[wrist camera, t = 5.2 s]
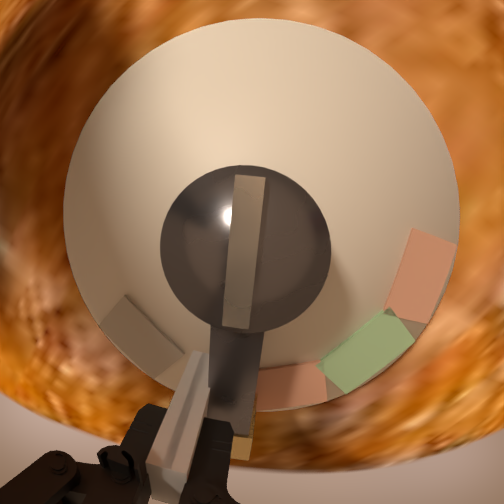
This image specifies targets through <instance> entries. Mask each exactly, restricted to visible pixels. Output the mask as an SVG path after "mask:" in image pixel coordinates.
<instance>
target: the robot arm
mask: <svg viewBox="0 0 504 504" xmlns="http://www.w3.org/2000/svg"><path fill="white" fill-rule="evenodd" d="M208 372H209V354H208V353H203V352H199V351H194V350H193V352H192V354H191V356H190V359H189V361H188V363H187V366H186V368H185V370H184V373H183V375H182V377H181V379H180V382H179V384H178V386H177V389H176V391H175V393H174V396H173V398H172V400H171V403H170V405H169V407H168V409H166V408H162V407H159V406H155V405H152V404H147V405H145V406H144V407H143V408H141V409H140V410H139V411H138V413H137V415H136V416H135V418H134V421H133V422H132V424H131V426H130V429H129V430H128V431H127V433H126V435H125V437H124V439H123V441H122V443H121V445H120V446H117V445H113V446H107V447H105V448H102V449H101V450H100V451H99V452H98V453H97V456H98V459H99V462H100V464H88V463H82V462H76V461H75V460H74V459H73V458H72V457H71V456H70V455H69V454H67V453H65V452H62V451H57V450H56V451H50V452H48V453H46V454H44V455H43V456H42V457H40V458H39V459H38V460H36V461H35V462H34V463H32V464H31V465H30V466H29V467H27V468H26V469H25V470H23V471H22V472H21V473H20V474H18V475H17V476H16V477H14V478H13V479H12V480H10V481H9V482H8V483H7V484H5V485H4V486H3V487H1V488H0V504H148V501H149V498H150V495H151V497H152V499H155V500H159V501H162V502H165V503H169V504H240V503H238V502H236V501H235V500H234V499H233V498H232V497H231V496H230V495H229V493H228V491H227V478H228V471H229V464H230V457H231V450H232V443H233V436H234V431H233V429H232V426H231V423H230V422H227V421H221V420H216V419H211V418H207V409H208V402H209V394H210V388H209V387H208Z"/></svg>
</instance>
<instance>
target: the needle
mask: <svg viewBox="0 0 504 504" xmlns="http://www.w3.org/2000/svg"><path fill="white" fill-rule="evenodd" d="M160 257H161V263H162V268H163V271H164V275H165V277H166V280H167V282H168V284H169V286H170V288H171V290H172V291H173V293H174V295H175V296H176V297H177V299H178V300H179V301H180V302H181V304H182V305H183V306H184V307H185V308H186V309H187V310H188V311H190V312H191V313H192V314H193V315H195V316H196V317H197V318H199V319H200V320H202V321H204V322H205V323H207V324H210V325H211V328H210V348H209V372H208V387H209V388H210V394H209V402H208V409H207V418H211V419H216V420H221V421H227V422H230V423H231V426H232V429H233V431H234V436H233V443H232V450H231V457H230V458H232V459H239V460H247V461H249V457H250V451H251V446H252V441H253V433H254V424H255V414H256V405H257V395H258V394H255V392H256V386H257V379H258V372H259V366H260V359H261V352H262V345H263V338H264V331H269V330H272V329H276V328H278V327H281V326H283V325H285V324H287V323H289V322H291V321H292V320H294V319H296V318H297V317H298V316H300V315H301V314H302V313H303V312H305V311H306V310H307V308H308V307H309V306H310V305H311V304H312V303H313V302H314V300H315V299H316V298H317V296H318V295H319V293H320V291H321V290H322V288H323V286H324V284H325V281H326V279H327V276H328V272H329V268H330V262H331V240H330V234H329V230H328V226H327V223H326V220H325V218H324V216H323V214H322V212H321V210H320V208H319V207H318V205H317V204H316V202H315V201H314V199H313V198H312V197H311V196H310V195H309V193H308V192H307V191H306V190H305V189H304V188H302V187H301V186H300V185H299V184H298V183H297V182H295V181H293V180H292V179H290V178H289V177H287V176H285V175H283V174H281V173H279V172H277V171H274V170H271V169H268V168H265V167H259V166H253V165H235V166H227V167H223V168H219V169H216V170H214V171H211V172H209V173H206V174H204V175H203V176H201V177H199V178H197V179H196V180H195V181H193V182H192V183H191V184H189V185H188V186H187V187H186V188H185V189H184V190H183V191H182V192H181V193H180V194H179V195H178V197H177V198H176V199H175V201H174V202H173V203H172V205H171V207H170V209H169V211H168V213H167V215H166V218H165V220H164V223H163V227H162V231H161V238H160Z"/></svg>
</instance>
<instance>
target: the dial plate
mask: <svg viewBox="0 0 504 504" xmlns="http://www.w3.org/2000/svg"><path fill="white" fill-rule="evenodd" d="M235 165H253V166H259V167H265V168H268V169H271V170H274V171H277V172H279V173H281V174H283V175H285V176H287V177H289V178H290V179H292V180H293V181H295V182H297V183H298V184H299V185H300V186H301V187H302V188H304V189H305V190H306V191H307V192H308V193H309V195H310V196H311V197H312V198H313V199H314V201H315V202H316V204H317V205H318V207H319V208H320V210H321V212H322V214H323V216H324V218H325V220H326V223H327V226H328V230H329V234H330V240H331V262H330V268H329V272H328V276H327V279H326V281H325V284H324V286H323V288H322V290H321V291H320V293H319V295H318V296H317V298H316V299H315V300H314V302H313V303H312V304H311V305H310V306H309V307H308V308H307V310H306V311H305V312H303V313H302V314H301V315H300V316H298V317H297V318H296V319H294V320H292V321H291V322H289V323H287V324H285V325H283V326H281V327H278V328H276V329H272V330H269V331H264V338H263V345H262V352H261V359H260V366H259V372H258V379H257V386H256V392H255V394H258V395H257V405H256V411H260V412H273V411H283V410H292V409H299V408H303V407H308V406H312V405H316V404H320V403H323V402H326V401H328V400H331V399H334V398H337V397H339V396H342V395H344V394H348V393H349V392H350V391H352V390H354V389H356V388H358V387H360V386H362V385H364V384H365V383H367V382H368V381H370V380H371V379H373V378H374V377H376V376H377V375H379V374H380V373H382V372H383V371H384V370H385V369H387V368H388V367H389V366H390V365H391V364H392V363H394V362H395V361H396V360H397V359H398V358H399V357H400V356H402V355H403V353H404V352H405V351H406V350H407V349H408V348H409V347H410V346H411V345H412V344H413V343H414V342H415V340H416V339H417V338H418V337H419V335H420V334H421V332H422V331H423V329H424V328H425V327H426V325H427V324H428V322H429V321H430V319H431V318H432V316H433V314H434V312H435V311H436V309H437V307H438V305H439V303H440V301H441V299H442V297H443V295H444V293H445V290H446V287H447V284H448V281H449V279H450V276H451V273H452V270H453V266H454V261H455V257H456V252H457V246H458V239H459V225H460V207H459V194H458V186H457V181H456V176H455V172H454V167H453V163H452V160H451V157H450V154H449V151H448V149H447V146H446V143H445V141H444V138H443V136H442V134H441V132H440V130H439V128H438V126H437V124H436V122H435V120H434V119H433V117H432V115H431V113H430V111H429V110H428V108H427V107H426V106H425V104H424V103H423V102H422V100H421V99H420V98H419V96H418V95H417V94H416V92H415V91H414V90H413V88H412V87H411V86H410V85H409V84H408V83H407V82H406V81H405V80H404V79H403V78H402V77H401V76H400V75H399V74H398V73H397V72H396V71H395V70H394V69H393V68H392V67H391V66H389V65H388V64H387V63H385V62H384V61H383V60H382V59H380V58H379V57H378V56H376V55H375V54H373V53H372V52H371V51H369V50H368V49H366V48H364V47H362V46H361V45H359V44H357V43H355V42H353V41H351V40H350V39H348V38H346V37H344V36H341V35H339V34H336V33H334V32H331V31H328V30H326V29H323V28H320V27H317V26H313V25H309V24H304V23H300V22H295V21H290V20H281V19H265V18H254V19H241V20H230V21H225V22H221V23H216V24H212V25H208V26H204V27H200V28H198V29H195V30H192V31H190V32H187V33H184V34H182V35H179V36H177V37H175V38H173V39H171V40H169V41H167V42H166V43H164V44H162V45H160V46H158V47H157V48H155V49H153V50H152V51H150V52H149V53H147V54H146V55H145V56H143V57H142V58H141V59H139V60H138V61H137V62H136V63H134V64H133V65H132V66H130V67H129V68H128V69H127V70H126V71H125V72H124V73H123V74H122V75H121V76H120V77H119V78H118V79H117V80H116V81H115V82H114V83H113V84H112V85H111V87H110V88H109V89H108V90H107V92H106V93H105V94H104V96H103V97H102V98H101V99H100V101H99V102H98V104H97V105H96V106H95V108H94V110H93V111H92V113H91V115H90V116H89V118H88V120H87V122H86V124H85V125H84V127H83V129H82V131H81V134H80V136H79V139H78V141H77V144H76V146H75V149H74V151H73V154H72V158H71V162H70V166H69V169H68V174H67V178H66V185H65V193H64V202H63V220H64V234H65V242H66V249H67V254H68V258H69V262H70V266H71V269H72V273H73V276H74V279H75V281H76V284H77V286H78V289H79V291H80V294H81V296H82V298H83V300H84V302H85V304H86V306H87V308H88V309H89V311H90V313H91V315H92V317H93V318H94V320H95V321H96V323H97V324H98V326H99V327H100V328H101V330H102V331H103V332H104V334H105V335H106V337H107V338H108V339H109V340H110V341H111V342H112V343H113V345H114V346H115V347H116V348H117V349H118V350H119V351H120V352H121V353H122V354H123V355H124V356H125V357H126V358H127V359H128V360H129V361H131V362H132V363H133V364H134V365H135V366H136V367H138V368H139V369H140V370H141V371H143V372H144V373H145V374H147V375H148V376H150V377H151V378H152V379H154V380H156V381H157V382H159V383H160V384H162V385H164V386H166V387H168V388H170V389H172V390H174V391H176V389H177V386H178V384H179V382H180V379H181V377H182V375H183V373H184V370H185V368H186V366H187V363H188V361H189V359H190V356H191V354H192V352H193V350H194V351H199V352H203V353H208V354H209V348H210V328H211V325H210V324H207V323H205V322H204V321H202V320H200V319H199V318H197V317H196V316H195V315H193V314H192V313H191V312H190V311H188V310H187V309H186V308H185V307H184V306H183V305H182V304H181V302H180V301H179V300H178V299H177V297H176V296H175V295H174V293H173V291H172V290H171V288H170V286H169V284H168V282H167V280H166V277H165V275H164V271H163V268H162V263H161V257H160V238H161V231H162V227H163V223H164V220H165V218H166V215H167V213H168V211H169V209H170V207H171V205H172V203H173V202H174V201H175V199H176V198H177V197H178V195H179V194H180V193H181V192H182V191H183V190H184V189H185V188H186V187H187V186H188V185H189V184H191V183H192V182H193V181H195V180H196V179H197V178H199V177H201V176H203V175H204V174H206V173H209V172H211V171H214V170H216V169H219V168H223V167H227V166H235Z"/></svg>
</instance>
